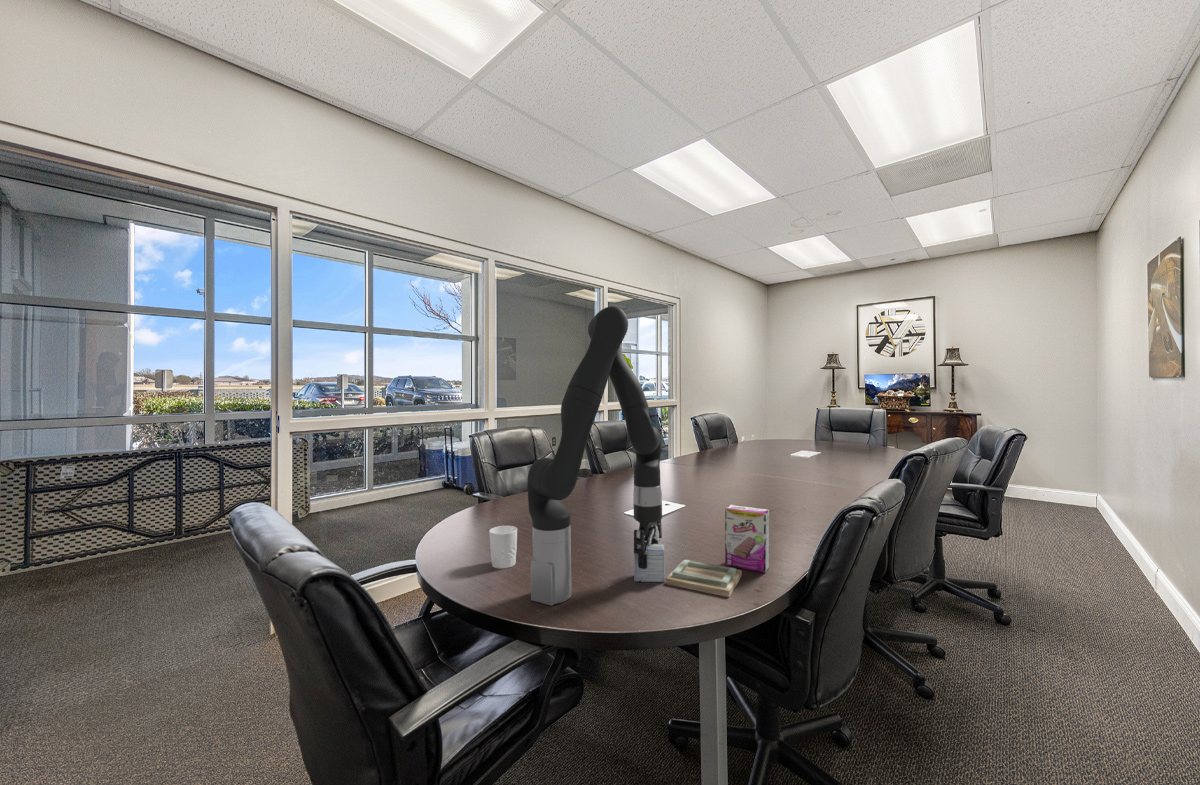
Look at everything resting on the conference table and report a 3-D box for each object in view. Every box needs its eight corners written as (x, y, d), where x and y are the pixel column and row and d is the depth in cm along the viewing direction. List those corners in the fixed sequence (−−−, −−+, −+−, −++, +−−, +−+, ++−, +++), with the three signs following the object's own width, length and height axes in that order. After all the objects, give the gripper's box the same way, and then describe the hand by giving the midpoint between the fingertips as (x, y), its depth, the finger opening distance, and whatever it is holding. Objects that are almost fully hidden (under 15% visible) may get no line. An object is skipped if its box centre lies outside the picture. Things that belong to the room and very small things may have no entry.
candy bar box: (724, 566, 128) (724, 508, 128) (729, 560, 133) (728, 504, 133) (766, 574, 123) (765, 513, 123) (769, 567, 127) (769, 508, 127)
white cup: (484, 564, 132) (484, 529, 132) (507, 557, 137) (507, 523, 137) (499, 572, 126) (498, 536, 126) (523, 564, 132) (522, 529, 132)
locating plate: (729, 597, 109) (729, 586, 109) (665, 584, 117) (665, 574, 117) (741, 576, 122) (741, 566, 122) (683, 565, 129) (683, 556, 129)
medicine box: (664, 576, 122) (664, 543, 122) (664, 583, 118) (664, 549, 118) (634, 575, 123) (634, 543, 123) (634, 582, 119) (633, 548, 119)
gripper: (651, 510, 113) (652, 575, 113) (669, 496, 126) (670, 555, 126) (623, 506, 116) (625, 569, 117) (644, 494, 129) (645, 551, 130)
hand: (648, 562), depth 121 cm, fingers open, 8 cm apart
